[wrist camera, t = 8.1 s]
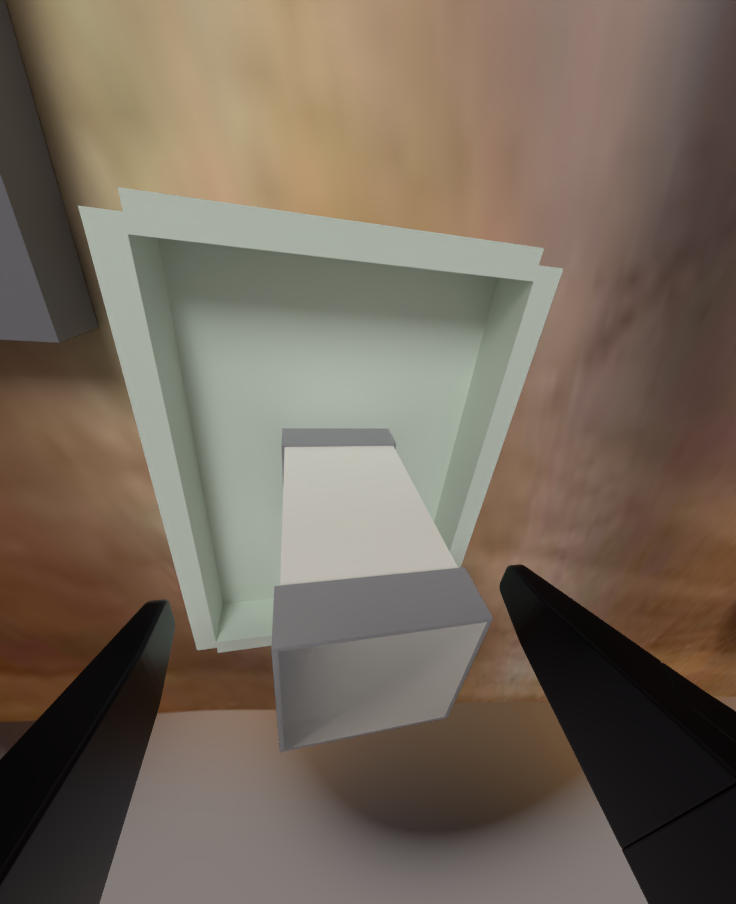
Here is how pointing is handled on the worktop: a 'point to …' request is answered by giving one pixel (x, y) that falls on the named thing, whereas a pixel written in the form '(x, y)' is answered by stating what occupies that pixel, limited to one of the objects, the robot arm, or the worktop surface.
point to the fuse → (364, 595)
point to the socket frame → (33, 220)
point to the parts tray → (304, 370)
